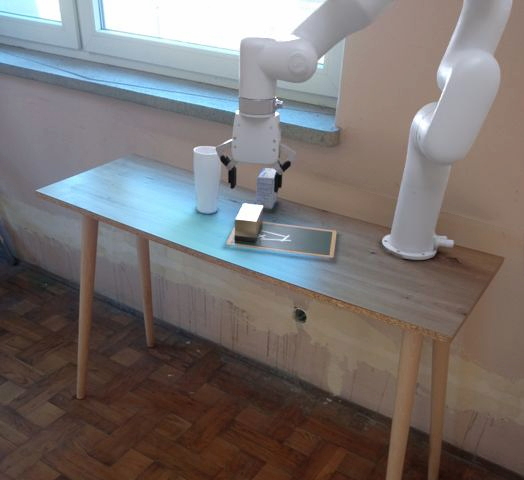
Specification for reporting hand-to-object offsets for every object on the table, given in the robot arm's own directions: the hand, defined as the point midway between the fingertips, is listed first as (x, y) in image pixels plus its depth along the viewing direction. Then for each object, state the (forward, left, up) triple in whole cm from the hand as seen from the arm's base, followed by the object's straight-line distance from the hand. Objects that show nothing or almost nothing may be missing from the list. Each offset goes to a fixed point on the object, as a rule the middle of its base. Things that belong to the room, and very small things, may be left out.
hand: (254, 188), depth 123 cm
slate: (-7, 0, -12) cm, 14 cm away
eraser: (+1, 0, -10) cm, 10 cm away
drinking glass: (+14, -12, -12) cm, 22 cm away
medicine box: (0, -20, -12) cm, 23 cm away
